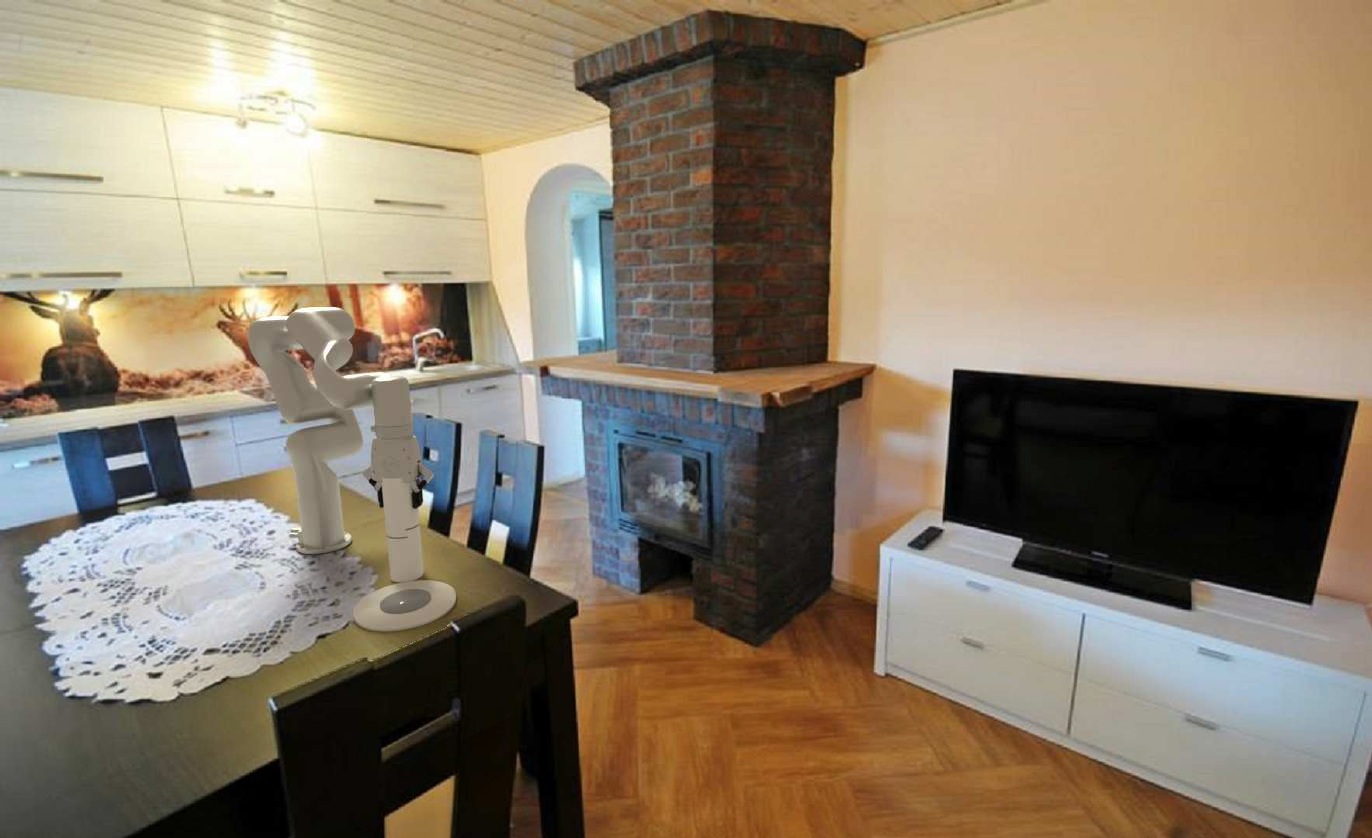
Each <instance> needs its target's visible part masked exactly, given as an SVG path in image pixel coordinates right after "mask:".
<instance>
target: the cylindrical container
mask: <svg viewBox="0 0 1372 838" xmlns="http://www.w3.org/2000/svg"><path fill="white" fill-rule="evenodd" d="M382 480H383V481H382V493H383V503H384V507H383V512H384V523H385V524H384V525H385V533H386V542H387V543H386V544H387V546H386V547H387V554H388V566H389V576H390V580H391V581H393V582H395V583H402V582H408V581H417V580H418V579H419V578H421V577H422V576H423V575H424V574H425V573H424V562H423V561H424V559H423V548H422V538H421V537H422V536H421V524H420V513H419V507H418V508H417V509H414V508H413V504H412V492H414V490H413V488H412V487H411V485H410V483H404V482H402V478H388V477H382ZM415 482H416V481H415Z"/></svg>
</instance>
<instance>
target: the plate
mask: <svg viewBox="0 0 1372 838" xmlns="http://www.w3.org/2000/svg"><path fill="white" fill-rule="evenodd" d="M456 601H457V594H456V590H455V588H453V587H452V586H451V585H449V584H448V583H446V582H442V581H439V580H438V581H437V580H428V579H427V580H425V579H422V580H418V579H416V580H413V581H408V582H396V583H395V584H391V585H388V586H387V585H386V586H384V587H382V588H379V589H377V590H374V591H373V592H371V593H369V594H367V595H366V596H364V597H362V598H361V599H360V600H359V601H358V602H357V603H356V604H355V606H354V608H353V611H352V615H353V621H354V623H355V624H356V625H357V626H358V627H360V628H362V629H363V630H367V631H373V632H381V633H382V632H383V633H385V632H389V633H390V632H399V631H406V630H411V629H414V628H415V629H416V628H419V627H422V626H425V625H427V624H430V623H432V622H435V621H436V620H438V619H440V618H442V617H443V616H446V615H447V614H448V613H449V612H450V611H451V610H452V609H453V608H454V606H455V605H456Z"/></svg>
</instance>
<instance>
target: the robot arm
mask: <svg viewBox="0 0 1372 838" xmlns="http://www.w3.org/2000/svg"><path fill="white" fill-rule="evenodd" d="M355 325H356V324H355V320H354V319H353V317H352V315H351V314H350V313H349V312H348V311H346V310H344V309H343V308H340V307H335V306H334V307H333V306H330V307H329V306H328V307H305V308H299V309H295V310H294V311H292V312H291V313H290V314H289V315H278V316H277V315H276V316H274V315H273V316H267V317H261V318H258V319H256V320H254V321H253V322H251V324H249V327H248V329H247V343H248V347H249V350H250V352H251V354H252V356H253V358H254V360H255V361H256V363H257V364H258V366H260V369H261V370H262V371H263V373H264V375H265V377H266V379H267V381H268V383H269V386H270V389H271V392H272V395H273V397H274V401H275V403H276V406H277V408H278V410H279V413H280V415H281V417H282V419H283V420H284V421H285V422H286V423H287V424H289V425H305V424H312V423H315V422H316V423H317V422H321V421H328V423H326V424H320V425H313V426H310V427H303V428H300V429H298V430H295V431H293V432H292V433H291V434H290V435H288V437H287V438H286V442H285V448H286V452H287V456H288V458H289V462H290V465H291V468H292V472H293V477H294V483H295V490H296V497H297V498H296V499H297V506H298V515H299V523H300V527H292V528H291V529H290V532H289V534H288V537H289V538H290V539H297V540H298V542H297V543H296V545H295V547H296V551H297V552H298V553H300V554H305V555H319V554H326V553H327V554H328V553H331V552H334V551H338V550H340V549H342V548H345V547H347V546H348V545H349V544H351V543H352V541H353V539H352V534H350V533H349V532H347V531H345V528H344V527H345V526H344V519H343V518H344V517H343V509H342V508H343V507H342V499H341V492H340V491H341V489H340V482H339V477H338V475H337V473H336V472H335V471H334V470H333V469H332V468H331V467H330V466H328V464H327V463H329V462H332V461H336V460H337V461H338V460H341V459H344V458H345V459H346V458H349V457H352V456H356V455H357V454H359V453H360V452H361V450H362V449H363V446H364V437H363V434H362V431H361V428H360V424H359V423H358V420H357V417H356V414H355V412H354V410H355V409H363V408H368V407H373V415H374V425H371V426H370V432H373V433H375V437H373V438H372V443H371V451H370V466H369V467H367V469H365V470H364V471H363V472H362V476H363V477H364V478H365V479H366V481H368V483H369V484H370V485H371V486H372V487H373V489H374V491H376V492H377V502H378V505H379V508H381V509H384V503H383V493H382V481H383V480H382V477H388V478H402V482H404V483H410V485H411V487H412V488H413V490H414V492H412V504H413V508H414V509H417V508H418V509H419V508H420V507H421V506H422V505H423V503H424V494H423V489H424V488H425V487H427V485H429V483H430V481H431V480H432V479H433V478H434V476H435V473H434V472H433V471H432V470H431V469H429V468H427V466H425V465H424V464H423V460H422V453H421V449H420V445H419V441H418V438H417V436H416V435H414V431H413V430H414V429H413V419H412V417H413V416H412V415H413V414H412V405H411V394H410V393H411V390H410V384H409V383H410V382H409V379H407V378H406V377H404V376H401V375H392V374H390V373H387V372H383V371H378V372H369V373H368V372H366V373H358V374H356V373H355V374H350V375H349V374H348V375H343V376H342V375H340V374H339V373H338V372H337V371H336V370H339V369H340V368H341V367H343V366H344V365H346V364H347V363H348V362H349V361H350V359H351V358H352V356H353V352H354V349H353V344H352V343H351V341H350V340H351V339H352V337H353V336H354V335H355V331H356V326H355ZM293 350H294V351H295V350H305V352H307V353H308V355H310V356H311V358H312V359H313V360H314V363H313V367H312V375H313V381H314V384H313V383H312V382H311V381H310V379H309V377H308V374H307V371H306V368H305V367H304V365H303V364H302V363H300V362H299V361H298V360H297V359H296V358H295V357H293V356H292V355H290V354H289V353H288V352H286V351H293ZM422 476H423V479H421V477H422ZM415 481H416V482H415Z"/></svg>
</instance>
